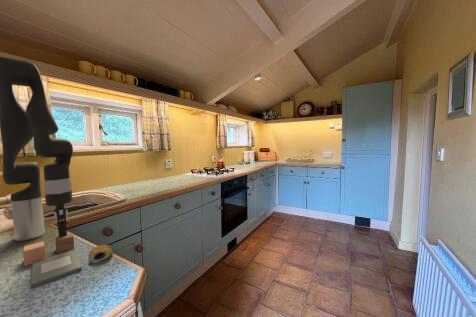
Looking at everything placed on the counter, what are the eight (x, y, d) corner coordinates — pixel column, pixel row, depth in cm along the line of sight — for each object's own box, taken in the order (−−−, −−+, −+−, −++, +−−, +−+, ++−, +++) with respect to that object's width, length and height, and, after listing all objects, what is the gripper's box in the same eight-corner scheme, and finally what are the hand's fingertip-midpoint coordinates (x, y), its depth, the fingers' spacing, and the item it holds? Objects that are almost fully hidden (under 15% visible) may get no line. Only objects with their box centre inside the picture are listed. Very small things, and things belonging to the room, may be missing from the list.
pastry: (90, 252, 73) (90, 242, 73) (112, 247, 77) (111, 238, 76) (88, 265, 65) (87, 254, 65) (112, 258, 69) (111, 248, 68)
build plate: (33, 264, 66) (32, 261, 66) (75, 251, 74) (75, 248, 74) (31, 288, 55) (31, 284, 55) (81, 269, 63) (81, 266, 62)
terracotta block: (25, 260, 69) (24, 246, 69) (45, 254, 73) (44, 241, 73) (24, 265, 66) (23, 251, 65) (45, 259, 69) (44, 245, 69)
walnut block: (56, 249, 76) (54, 236, 76) (72, 244, 80) (71, 232, 80) (56, 254, 73) (55, 240, 73) (74, 248, 76) (73, 236, 76)
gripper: (45, 190, 77) (48, 231, 78) (44, 195, 67) (48, 242, 68) (70, 187, 82) (73, 225, 83) (73, 191, 72) (77, 235, 73)
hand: (62, 233), depth 75 cm, fingers open, 8 cm apart
